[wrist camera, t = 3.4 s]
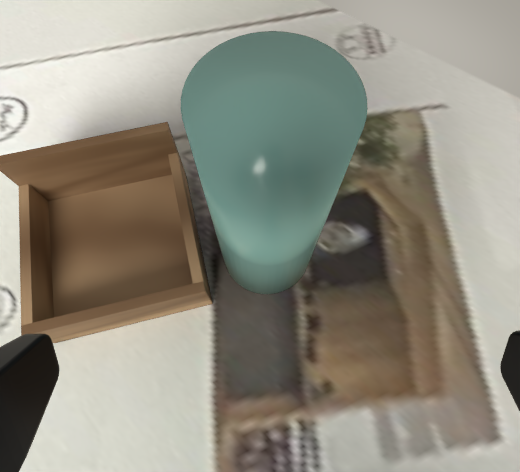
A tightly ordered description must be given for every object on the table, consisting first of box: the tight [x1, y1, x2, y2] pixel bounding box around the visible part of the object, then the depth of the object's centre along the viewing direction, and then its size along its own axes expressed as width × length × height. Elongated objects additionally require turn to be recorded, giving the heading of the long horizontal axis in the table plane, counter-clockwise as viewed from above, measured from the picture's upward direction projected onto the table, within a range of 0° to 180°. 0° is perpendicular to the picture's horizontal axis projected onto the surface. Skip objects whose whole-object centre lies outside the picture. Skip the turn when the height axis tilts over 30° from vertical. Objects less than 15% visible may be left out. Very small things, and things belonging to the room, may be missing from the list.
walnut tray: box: [0, 122, 213, 343], centre depth 19 cm, size 8×8×5 cm
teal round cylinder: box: [181, 31, 367, 294], centre depth 16 cm, size 5×5×12 cm
